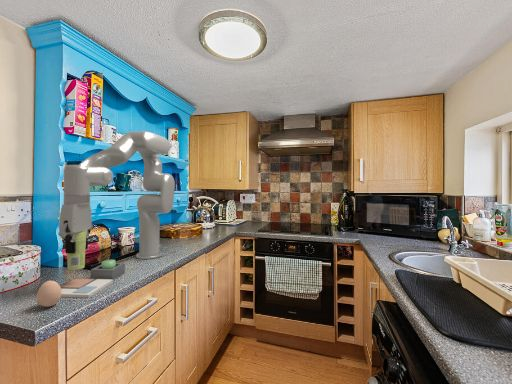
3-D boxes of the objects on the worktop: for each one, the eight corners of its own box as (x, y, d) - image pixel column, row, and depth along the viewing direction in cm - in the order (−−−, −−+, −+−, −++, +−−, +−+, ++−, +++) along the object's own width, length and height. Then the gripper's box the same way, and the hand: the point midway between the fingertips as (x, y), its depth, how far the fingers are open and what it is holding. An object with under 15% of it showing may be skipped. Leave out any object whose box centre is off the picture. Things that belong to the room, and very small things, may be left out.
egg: (32, 308, 73) (32, 282, 73) (54, 300, 79) (54, 276, 78) (43, 312, 71) (43, 286, 71) (65, 303, 76) (65, 279, 76)
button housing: (104, 272, 103) (104, 262, 103) (124, 272, 103) (124, 263, 103) (90, 280, 95) (90, 269, 95) (112, 280, 95) (112, 270, 95)
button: (106, 269, 101) (106, 259, 101) (118, 269, 101) (118, 259, 101) (98, 273, 97) (98, 263, 97) (110, 273, 97) (110, 263, 96)
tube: (74, 265, 92) (74, 212, 91) (88, 265, 92) (88, 212, 92) (63, 271, 86) (63, 214, 86) (79, 270, 86) (79, 214, 86)
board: (75, 281, 94) (75, 277, 94) (113, 282, 93) (113, 279, 93) (45, 296, 81) (45, 292, 81) (88, 297, 80) (88, 294, 80)
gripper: (84, 198, 97) (84, 245, 97) (45, 201, 80) (45, 257, 80) (103, 199, 97) (102, 245, 97) (68, 201, 80) (68, 258, 80)
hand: (77, 250), depth 89 cm, fingers closed on tube, 5 cm apart
